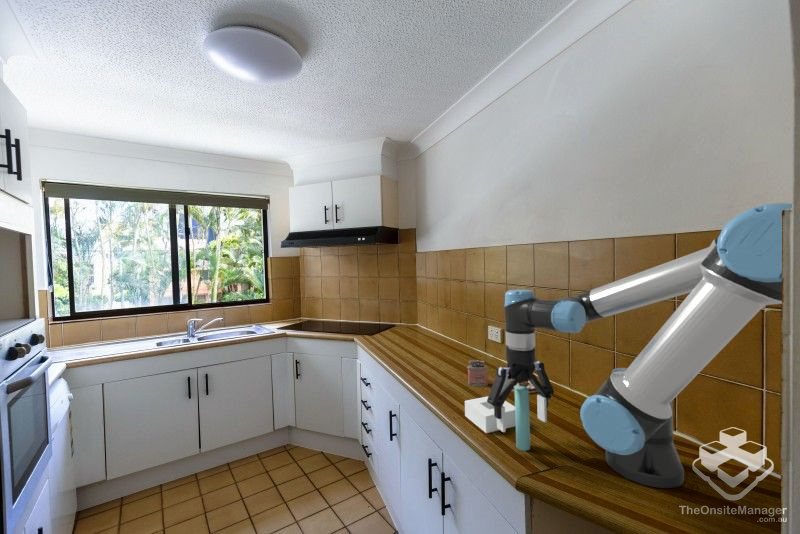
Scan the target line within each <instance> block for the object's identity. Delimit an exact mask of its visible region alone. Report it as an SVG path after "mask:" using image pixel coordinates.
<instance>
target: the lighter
mask: <svg viewBox="0 0 800 534" xmlns="http://www.w3.org/2000/svg"><path fill="white" fill-rule="evenodd" d="M468 364H469V365H467V368H466V369H467V381H468V382H467V386H470V387H487V386H488V385H489V383H488V365H485V361H484V360H479V359H476V360H469V361H468Z"/></svg>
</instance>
